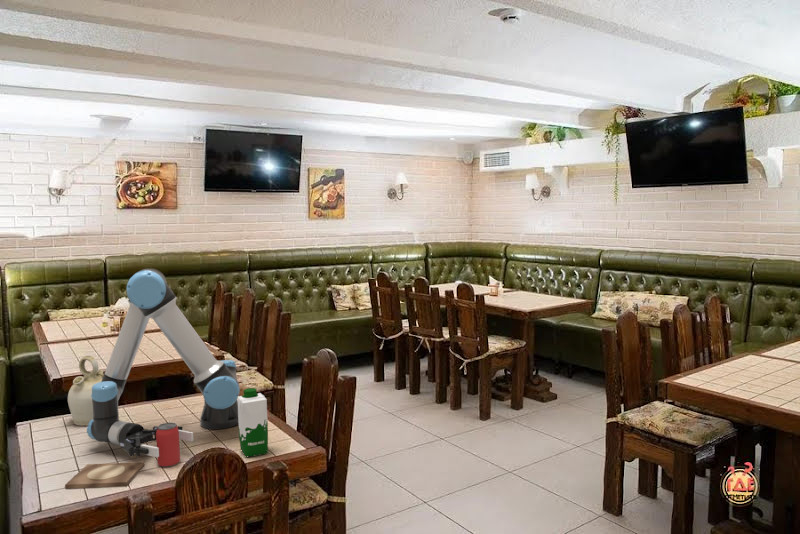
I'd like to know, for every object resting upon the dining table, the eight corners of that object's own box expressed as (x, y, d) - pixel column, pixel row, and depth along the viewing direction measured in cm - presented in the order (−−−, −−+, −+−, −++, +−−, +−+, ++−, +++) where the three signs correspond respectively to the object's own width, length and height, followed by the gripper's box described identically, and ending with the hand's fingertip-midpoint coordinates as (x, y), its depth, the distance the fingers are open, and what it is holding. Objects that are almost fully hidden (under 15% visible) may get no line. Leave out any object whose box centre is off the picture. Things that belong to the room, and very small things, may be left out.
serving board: (144, 465, 184) (144, 460, 184) (127, 486, 170) (126, 480, 170) (87, 468, 183) (87, 463, 183) (65, 488, 169) (64, 483, 169)
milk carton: (264, 444, 199) (261, 386, 197) (271, 454, 191) (269, 393, 189) (237, 450, 195) (234, 390, 193) (243, 459, 187) (241, 397, 185)
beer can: (172, 468, 182) (170, 429, 181) (153, 467, 183) (151, 428, 182) (184, 459, 188) (182, 422, 187) (165, 458, 189) (163, 421, 188)
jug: (84, 430, 216) (79, 362, 214) (60, 423, 224) (56, 357, 222) (123, 418, 229) (119, 353, 227) (99, 411, 237) (95, 349, 235)
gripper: (159, 432, 204) (205, 442, 195) (93, 460, 182) (142, 472, 173) (157, 411, 204) (204, 419, 194) (91, 436, 181) (141, 447, 172)
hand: (175, 444), depth 184 cm, fingers open, 13 cm apart
